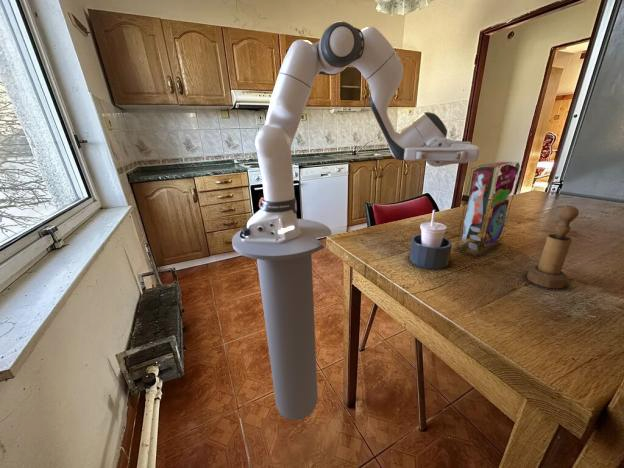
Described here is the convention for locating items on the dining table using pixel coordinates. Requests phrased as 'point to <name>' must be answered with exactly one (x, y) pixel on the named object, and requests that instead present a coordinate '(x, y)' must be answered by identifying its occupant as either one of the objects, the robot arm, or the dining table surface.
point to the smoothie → (432, 233)
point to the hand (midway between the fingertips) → (440, 156)
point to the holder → (430, 253)
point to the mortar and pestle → (554, 253)
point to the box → (480, 199)
